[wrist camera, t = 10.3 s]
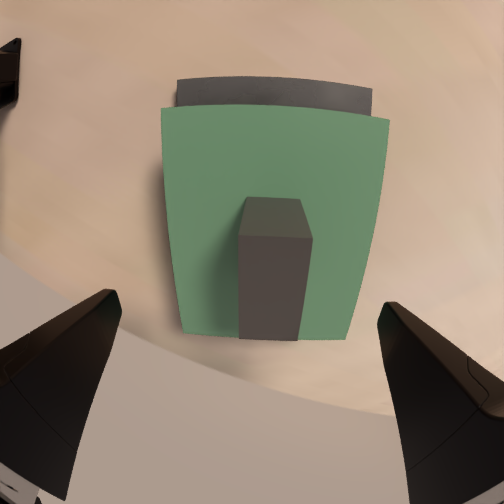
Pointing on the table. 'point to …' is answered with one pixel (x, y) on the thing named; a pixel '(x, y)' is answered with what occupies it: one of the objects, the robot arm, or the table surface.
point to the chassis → (274, 93)
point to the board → (270, 168)
